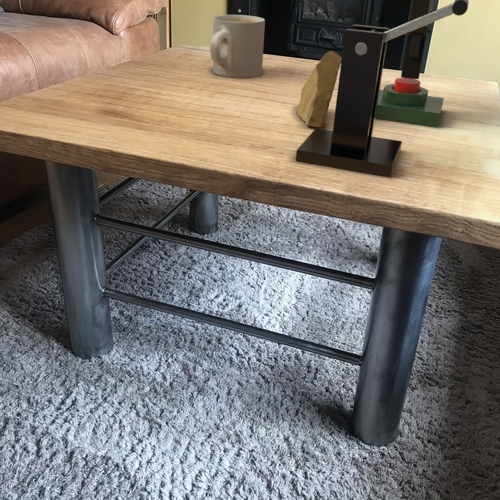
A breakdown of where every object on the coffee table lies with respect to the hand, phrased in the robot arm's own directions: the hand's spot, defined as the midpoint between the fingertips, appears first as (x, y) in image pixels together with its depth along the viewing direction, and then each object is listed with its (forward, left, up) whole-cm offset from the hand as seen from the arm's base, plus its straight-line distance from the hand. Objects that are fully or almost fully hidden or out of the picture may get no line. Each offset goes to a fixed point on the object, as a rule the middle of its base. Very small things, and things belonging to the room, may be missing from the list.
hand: (410, 77), depth 89 cm
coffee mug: (+35, -12, -6) cm, 38 cm away
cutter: (+4, +24, -6) cm, 25 cm away
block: (0, 0, -6) cm, 6 cm away
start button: (0, 0, -2) cm, 2 cm away
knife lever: (-1, +24, +9) cm, 26 cm away
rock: (+13, +10, -6) cm, 18 cm away
